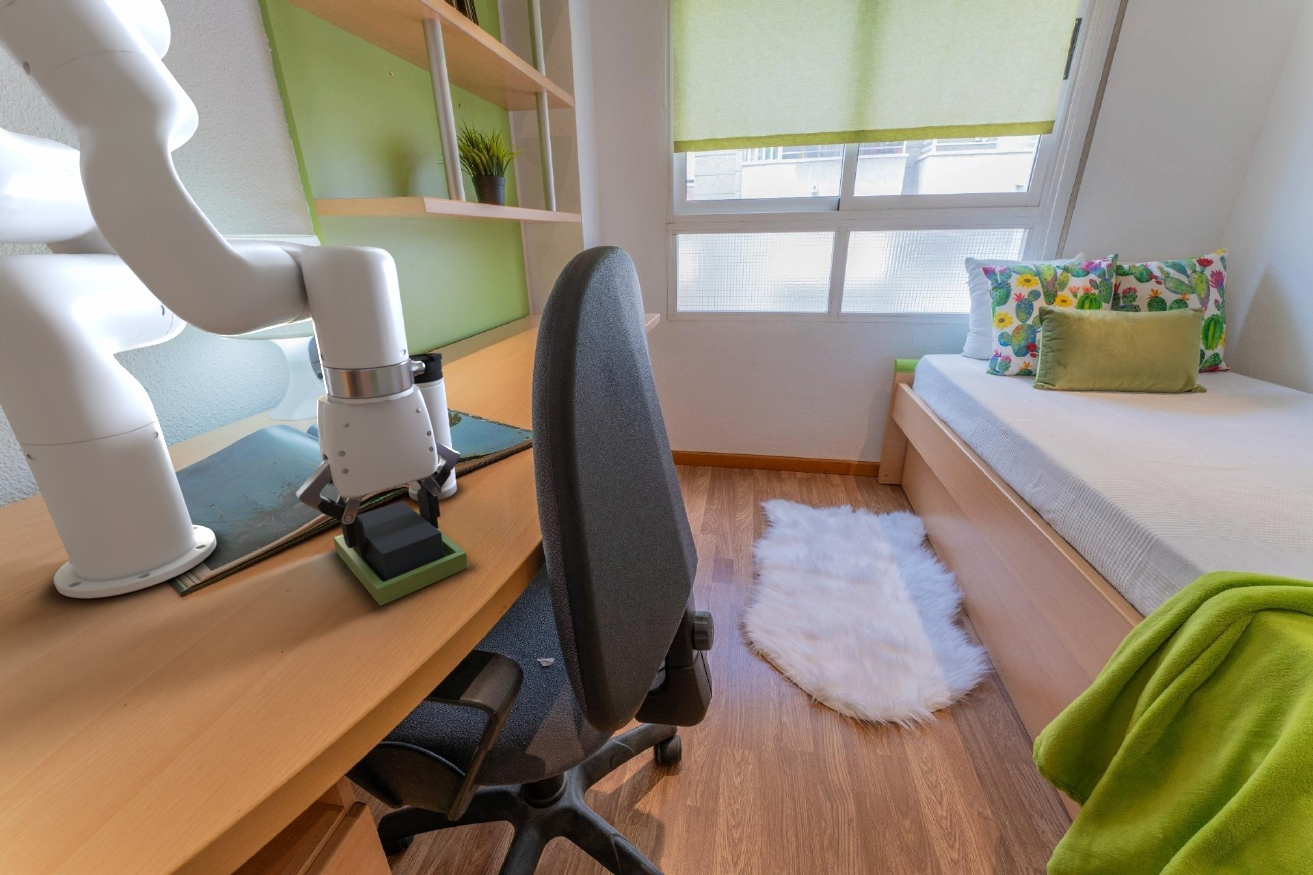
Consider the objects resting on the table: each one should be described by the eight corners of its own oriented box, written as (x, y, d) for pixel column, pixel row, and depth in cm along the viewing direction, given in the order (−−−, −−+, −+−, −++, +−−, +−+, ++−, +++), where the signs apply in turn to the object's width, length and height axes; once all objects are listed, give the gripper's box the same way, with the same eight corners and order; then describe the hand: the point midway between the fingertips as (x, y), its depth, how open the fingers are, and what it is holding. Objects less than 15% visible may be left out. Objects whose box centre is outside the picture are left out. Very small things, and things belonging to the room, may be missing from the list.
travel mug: (443, 505, 70) (423, 359, 63) (399, 499, 71) (375, 356, 64) (467, 485, 76) (452, 350, 69) (427, 480, 77) (408, 347, 70)
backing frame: (336, 552, 59) (332, 536, 59) (417, 523, 66) (415, 509, 65) (380, 606, 51) (377, 589, 50) (468, 567, 57) (466, 552, 56)
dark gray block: (354, 548, 59) (347, 518, 58) (407, 530, 63) (402, 500, 62) (388, 588, 53) (382, 554, 51) (445, 564, 57) (441, 532, 55)
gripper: (438, 361, 59) (455, 500, 65) (252, 386, 47) (295, 553, 54) (471, 373, 54) (485, 522, 61) (273, 405, 42) (317, 586, 49)
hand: (396, 535), depth 57 cm, fingers open, 6 cm apart
